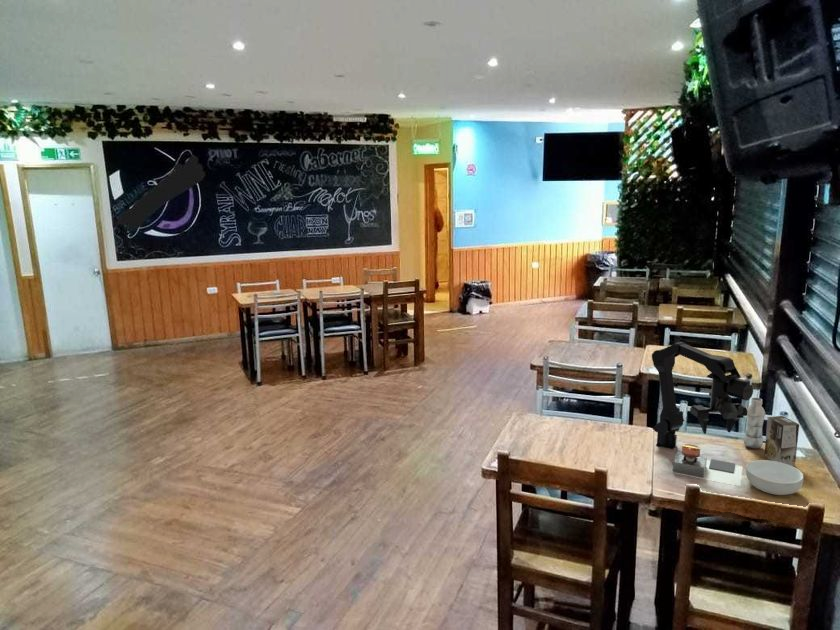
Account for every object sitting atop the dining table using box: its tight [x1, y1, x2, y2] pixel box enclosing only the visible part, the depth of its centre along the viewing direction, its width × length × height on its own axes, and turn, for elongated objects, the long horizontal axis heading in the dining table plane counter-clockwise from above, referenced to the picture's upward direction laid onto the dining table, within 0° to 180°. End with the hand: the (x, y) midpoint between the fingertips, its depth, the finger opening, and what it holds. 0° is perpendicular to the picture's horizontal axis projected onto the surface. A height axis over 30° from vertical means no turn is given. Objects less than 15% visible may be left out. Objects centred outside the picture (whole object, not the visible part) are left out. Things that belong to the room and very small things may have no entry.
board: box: [673, 459, 744, 487], centre depth 212 cm, size 21×17×1 cm
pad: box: [709, 458, 736, 473], centre depth 214 cm, size 8×8×1 cm
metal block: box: [672, 451, 708, 479], centre depth 212 cm, size 10×10×4 cm
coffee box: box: [764, 415, 800, 467], centre depth 217 cm, size 9×6×16 cm
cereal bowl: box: [745, 459, 804, 496], centre depth 197 cm, size 17×17×7 cm
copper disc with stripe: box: [681, 443, 701, 463], centre depth 212 cm, size 6×6×9 cm
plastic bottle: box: [743, 397, 766, 450], centre depth 229 cm, size 6×7×20 cm
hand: (716, 432), depth 213 cm, fingers open, 9 cm apart
